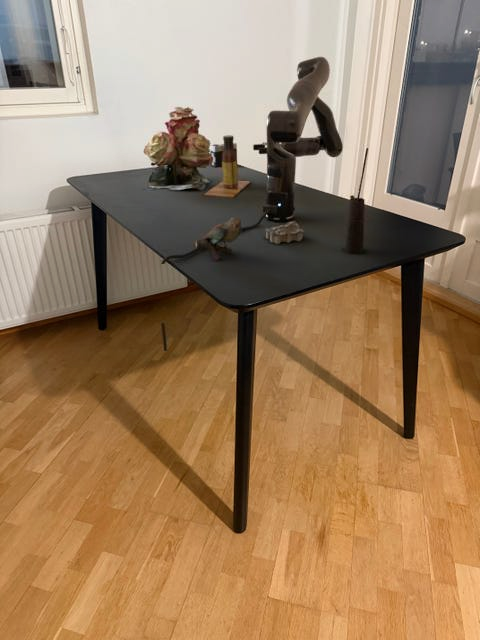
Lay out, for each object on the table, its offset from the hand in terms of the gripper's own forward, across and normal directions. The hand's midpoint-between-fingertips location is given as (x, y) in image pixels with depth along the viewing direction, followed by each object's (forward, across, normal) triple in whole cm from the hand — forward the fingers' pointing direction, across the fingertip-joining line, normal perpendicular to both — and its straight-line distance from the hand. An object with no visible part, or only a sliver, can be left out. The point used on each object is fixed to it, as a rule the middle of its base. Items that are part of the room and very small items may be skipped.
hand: (256, 149), depth 186 cm
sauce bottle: (+11, 0, -15) cm, 18 cm away
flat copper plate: (+12, 0, -15) cm, 19 cm away
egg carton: (+8, -62, -15) cm, 64 cm away
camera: (+5, +47, -15) cm, 50 cm away
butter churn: (-8, -74, -15) cm, 77 cm away
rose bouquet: (+28, +12, -15) cm, 34 cm away
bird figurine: (+30, -70, -16) cm, 78 cm away
